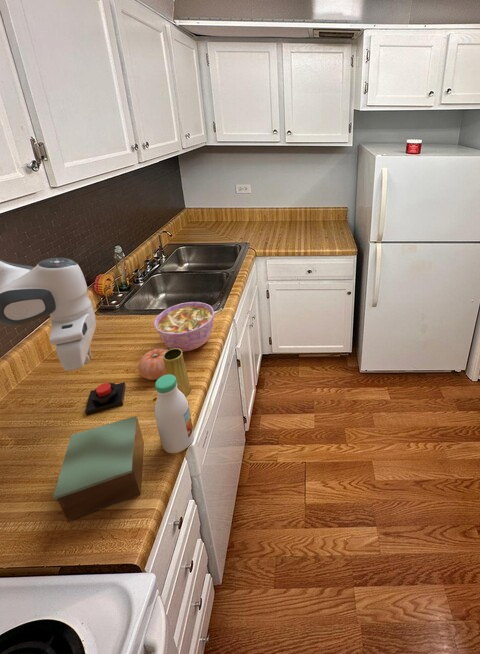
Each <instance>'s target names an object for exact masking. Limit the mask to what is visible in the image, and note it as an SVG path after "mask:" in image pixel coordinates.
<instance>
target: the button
mask: <svg viewBox="0 0 480 654" xmlns="http://www.w3.org/2000/svg"><path fill="white" fill-rule="evenodd" d="M109 383H110V382H104V383H101V384H100V385H98V386H97V387H96V388H97V389H96V388H95V389H96V392H97V395H98V396H99V397H103V396H106V395H108V394H109V393H110V392H111V391H112V389H111V385H110V384H109Z"/></svg>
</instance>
